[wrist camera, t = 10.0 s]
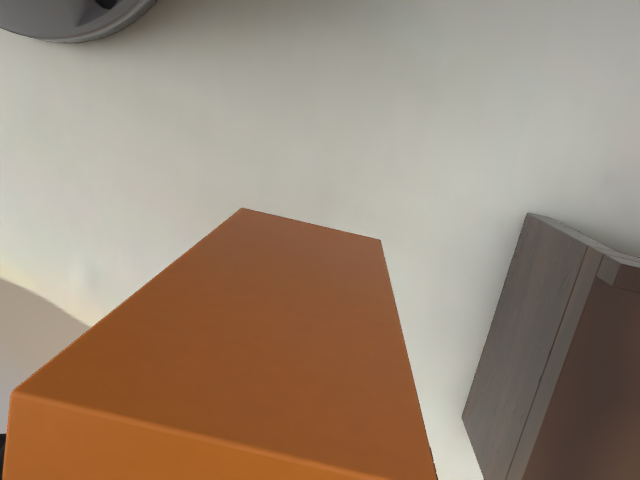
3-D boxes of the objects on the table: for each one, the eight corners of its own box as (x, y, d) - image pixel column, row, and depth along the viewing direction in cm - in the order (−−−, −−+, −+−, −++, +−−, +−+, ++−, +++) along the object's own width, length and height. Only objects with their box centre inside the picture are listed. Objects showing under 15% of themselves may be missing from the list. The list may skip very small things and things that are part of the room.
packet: (197, 431, 21) (-45, 922, 8) (241, 207, 19) (7, 390, 6) (324, 461, 21) (279, 1001, 8) (381, 239, 19) (442, 493, 6)
